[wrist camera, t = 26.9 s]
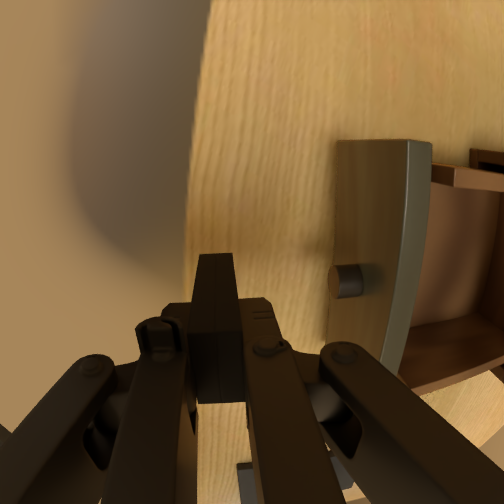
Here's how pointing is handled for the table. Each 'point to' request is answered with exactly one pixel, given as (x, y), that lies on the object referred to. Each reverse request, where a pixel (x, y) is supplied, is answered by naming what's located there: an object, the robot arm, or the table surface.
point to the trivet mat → (249, 488)
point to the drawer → (417, 262)
